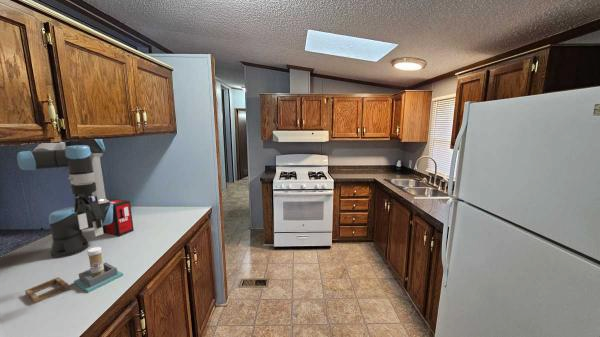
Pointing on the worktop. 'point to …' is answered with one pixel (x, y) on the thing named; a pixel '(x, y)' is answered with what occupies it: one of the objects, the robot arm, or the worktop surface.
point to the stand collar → (36, 299)
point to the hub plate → (97, 278)
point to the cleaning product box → (120, 218)
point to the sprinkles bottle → (96, 261)
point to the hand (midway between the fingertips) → (91, 231)
